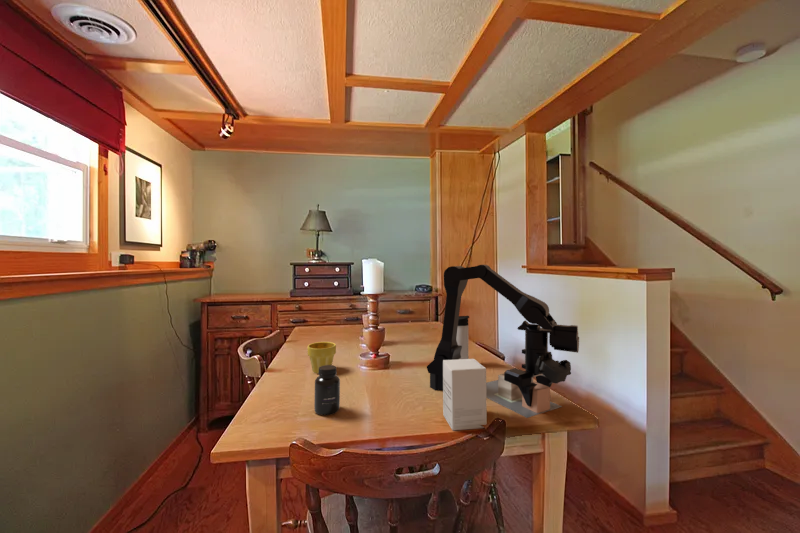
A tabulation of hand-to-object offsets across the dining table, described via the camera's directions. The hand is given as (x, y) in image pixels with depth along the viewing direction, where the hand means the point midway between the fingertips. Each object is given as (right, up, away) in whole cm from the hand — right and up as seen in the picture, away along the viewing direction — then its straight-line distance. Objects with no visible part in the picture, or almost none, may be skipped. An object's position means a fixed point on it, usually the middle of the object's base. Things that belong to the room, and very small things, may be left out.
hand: (535, 403), depth 93 cm
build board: (-4, -2, +8) cm, 9 cm away
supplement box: (-21, -2, -6) cm, 22 cm away
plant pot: (-67, -2, +34) cm, 75 cm away
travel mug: (-14, -2, +38) cm, 41 cm away
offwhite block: (-4, -1, +8) cm, 9 cm away
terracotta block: (0, -1, 0) cm, 1 cm away
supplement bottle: (-57, -2, +1) cm, 57 cm away
